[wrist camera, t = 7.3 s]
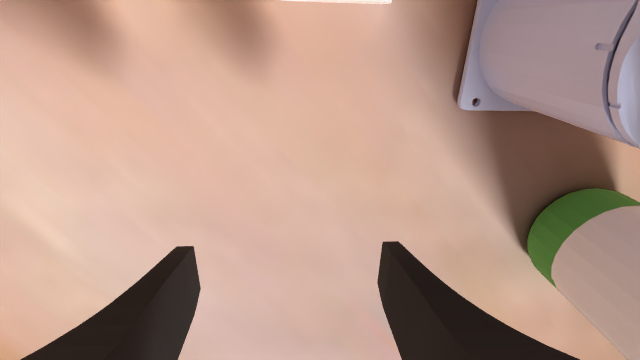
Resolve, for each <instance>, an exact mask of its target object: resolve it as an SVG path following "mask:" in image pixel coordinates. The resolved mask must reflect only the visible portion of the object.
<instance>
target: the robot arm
mask: <svg viewBox="0 0 640 360" xmlns="http://www.w3.org/2000/svg"><path fill="white" fill-rule="evenodd" d="M475 98H477V103H476V104H475V105H472V101H473V100H474V99H475ZM457 104H458V107H459V108H461V109H463V110H476V111H536V112H538V113H541V114H544V115H547V116H550V117H552V118H555V119H558V120H561V121H564V122H566V123H569V124H572V125H575V126H577V127H580V128H583V129H586V130H589V131H591V132H594V133H597V134H600V135H603V136H605V137H608V138H611V139H614V140H617V141H619V142H622V143H625V144H628V145H631V146H633V147H636V148H639V149H640V0H478V2H477V7H476V11H475V16H474V21H473V26H472V31H471V36H470V41H469V46H468V51H467V56H466V61H465V66H464V71H463V76H462V81H461V86H460V91H459V96H458V101H457ZM377 283H378V287H379V292H380V297H381V301H382V305H383V308H384V311H385V314H386V317H387V320H388V323H389V325H390V328H391V331H392V334H393V336H394V339H395V342H396V344H397V347H398V350H399V353H400V355H401V358H402V360H580V359H577V358H575V357H573V356H570V355H568V354H566V353H563V352H561V351H559V350H556V349H554V348H552V347H549V346H547V345H545V344H543V343H541V342H539V341H537V340H535V339H533V338H531V337H529V336H527V335H525V334H523V333H521V332H519V331H517V330H515V329H513V328H511V327H510V326H508V325H506V324H504V323H503V322H501V321H499V320H497V319H496V318H494V317H492V316H491V315H489V314H487V313H486V312H484V311H483V310H481V309H479V308H478V307H477V306H475V305H474V304H472V303H471V302H469V301H468V300H466V299H465V298H463V297H462V296H461V295H459V294H458V293H457V292H455V291H454V290H453V289H451V288H450V287H449V286H448V285H446V284H445V283H444V282H443V281H441V280H440V279H439V278H438V277H437V276H435V275H434V274H433V273H432V272H431V271H430V270H428V269H427V268H426V267H425V266H424V265H423V264H422V263H421V262H420V261H419V260H417V259H416V258H415V257H414V256H413V255H412V254H411V253H410V252H409V251H408V250H407V249H406V248H405V247H404V246H403V245H401V244H400V243H399V242H398V241H397V242H383V244H382V252H381V259H380V267H379V275H378V282H377ZM200 289H201V288H200V282H199V276H198V270H197V264H196V258H195V252H194V246H181V247H176V248H175V249H173V250H172V251H171V252H170V253H169V254H168V255H167V256H166V257H165V258H163V259H162V260H161V261H160V262H159V263H158V264H157V265H156V266H155V267H154V268H152V269H151V270H150V271H149V272H148V273H147V274H146V275H144V276H143V277H142V278H141V279H140V280H139V281H138V282H136V283H135V284H134V285H133V286H132V287H130V288H129V289H128V290H127V291H125V292H124V293H123V294H122V295H120V296H119V297H118V298H117V299H115V300H114V301H113V302H112V303H110V304H109V305H108V306H106V307H105V308H103V309H102V310H101V311H99V312H98V313H96V314H95V315H94V316H92V317H91V318H89V319H88V320H86V321H85V322H83V323H82V324H80V325H79V326H77V327H76V328H74V329H72V330H71V331H69V332H67V333H66V334H64V335H62V336H61V337H59V338H58V339H56V340H54V341H53V342H51V343H49V344H48V345H46V346H44V347H43V348H41V349H39V350H37V351H35V352H33V353H32V354H30V355H28V356H26V357H24V358H23V359H21V360H178V357H179V355H180V352H181V349H182V347H183V344H184V341H185V339H186V336H187V333H188V331H189V328H190V325H191V323H192V320H193V317H194V314H195V310H196V306H197V302H198V298H199V293H200Z"/></svg>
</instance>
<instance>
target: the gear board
mask: <svg viewBox="0 0 640 360" xmlns="http://www.w3.org/2000/svg"><path fill="white" fill-rule="evenodd" d="M281 1H308V2H336V3H364V4H387V3H392V0H281Z"/></svg>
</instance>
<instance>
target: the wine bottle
mask: <svg viewBox="0 0 640 360" xmlns="http://www.w3.org/2000/svg"><path fill="white" fill-rule="evenodd" d="M527 246H528V254H529V256H530V258H531V261H532V263H533V264H534V266H535V267H536V268H537V270H538V271H539V272H540V273H541V274H542V275H543V276H544V277H545V278H546V279H548V280H549V281H550V282H551V283H552V284H553V285H554V286H555V287H556V288H557V290H558V291H559V292H560V293H561V294H562V295H563V296H564V297H565V298H566V299H567V300H568V301H569V302H570V303H571V304H572V305H573V306H574V307H575V308H576V309H577V310H578V311H579V312H580V313H581V314H582V315H583V316H584V317H585V318H586V319H587V320H588V321H589V322H590V323H591V324H592V325H593V326H594V327H595V328H596V329H597V330H598V331H599V332H600V333H601V334H602V335H603V336H604V337H605V338H606V339H607V340H608V341H609V342H610V343H611V344H612V345H613V346H614V347H615V348H616V349H617V350H618V351H619V352H620V353H621V354H622V355H623V356H624V357H625V358H626V359H627V360H640V203H639V202H637V201H635V200H633V199H632V198H630V197H628V196H626V195H624V194H621V193H619V192H616V191H611V190H606V189H601V188H594V189H582V190H579V191H575V192H572V193H569V194H567V195H565V196H563V197H561V198H559V199H557V200H555V201H554V202H553V203H551V204H550V205H549V206H548V207H546V208H545V209H544V210H543V211H542V212H541V214H540V215H539V216H538V217H537V218H536V220H535V222H534V223H533V225H532V227H531V228H530V232H529V235H528V239H527Z"/></svg>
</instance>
